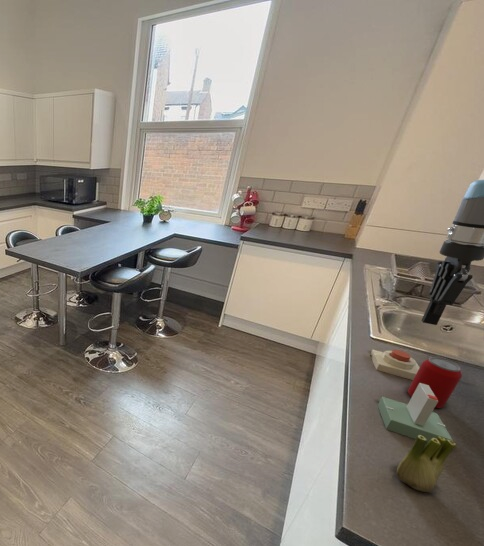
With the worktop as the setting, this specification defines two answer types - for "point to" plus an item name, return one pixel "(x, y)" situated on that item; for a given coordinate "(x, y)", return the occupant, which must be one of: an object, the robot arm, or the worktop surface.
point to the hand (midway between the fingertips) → (428, 322)
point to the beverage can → (437, 378)
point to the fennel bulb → (424, 463)
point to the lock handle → (422, 404)
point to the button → (400, 355)
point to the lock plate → (410, 421)
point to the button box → (394, 365)
